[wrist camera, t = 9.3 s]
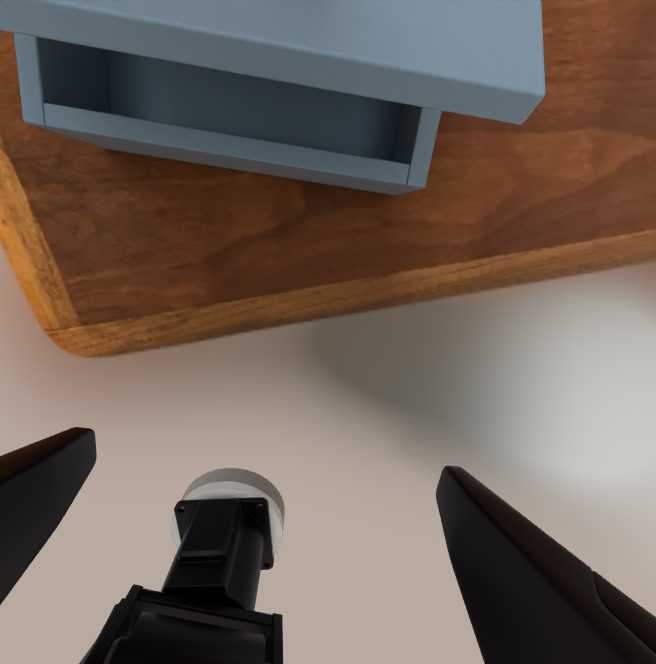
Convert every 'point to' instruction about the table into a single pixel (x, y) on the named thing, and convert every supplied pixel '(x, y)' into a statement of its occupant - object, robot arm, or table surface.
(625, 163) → the table surface
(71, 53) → the chest
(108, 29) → the lid
